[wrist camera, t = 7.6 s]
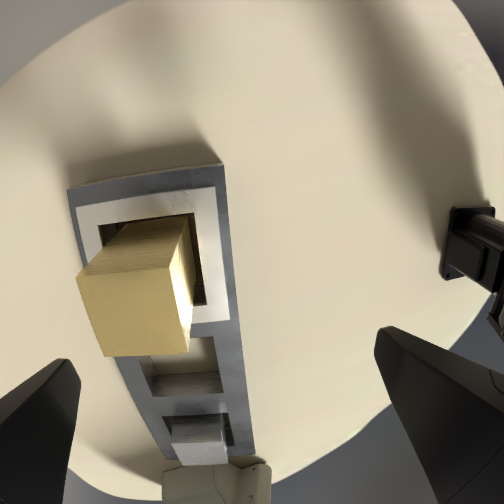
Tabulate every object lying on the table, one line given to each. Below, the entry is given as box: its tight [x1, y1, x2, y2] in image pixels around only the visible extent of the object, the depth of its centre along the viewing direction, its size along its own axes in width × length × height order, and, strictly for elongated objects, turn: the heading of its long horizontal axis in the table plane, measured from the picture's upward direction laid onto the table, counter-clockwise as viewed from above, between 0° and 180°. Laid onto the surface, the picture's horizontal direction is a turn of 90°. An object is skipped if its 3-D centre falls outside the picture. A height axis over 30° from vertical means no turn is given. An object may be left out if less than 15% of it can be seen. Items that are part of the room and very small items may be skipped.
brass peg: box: [75, 216, 196, 357], centre depth 15 cm, size 4×4×8 cm
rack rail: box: [67, 162, 255, 459], centre depth 20 cm, size 9×26×3 cm, turn 4°
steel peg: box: [171, 413, 228, 466], centre depth 22 cm, size 4×4×5 cm
